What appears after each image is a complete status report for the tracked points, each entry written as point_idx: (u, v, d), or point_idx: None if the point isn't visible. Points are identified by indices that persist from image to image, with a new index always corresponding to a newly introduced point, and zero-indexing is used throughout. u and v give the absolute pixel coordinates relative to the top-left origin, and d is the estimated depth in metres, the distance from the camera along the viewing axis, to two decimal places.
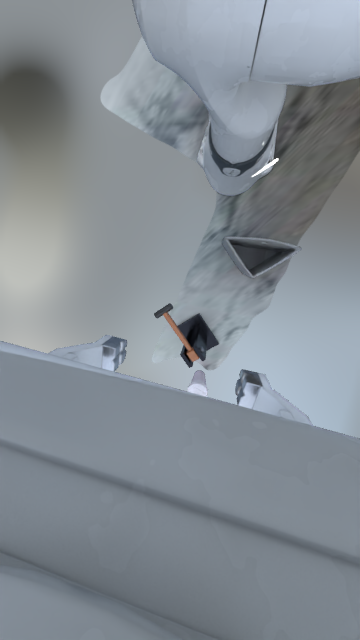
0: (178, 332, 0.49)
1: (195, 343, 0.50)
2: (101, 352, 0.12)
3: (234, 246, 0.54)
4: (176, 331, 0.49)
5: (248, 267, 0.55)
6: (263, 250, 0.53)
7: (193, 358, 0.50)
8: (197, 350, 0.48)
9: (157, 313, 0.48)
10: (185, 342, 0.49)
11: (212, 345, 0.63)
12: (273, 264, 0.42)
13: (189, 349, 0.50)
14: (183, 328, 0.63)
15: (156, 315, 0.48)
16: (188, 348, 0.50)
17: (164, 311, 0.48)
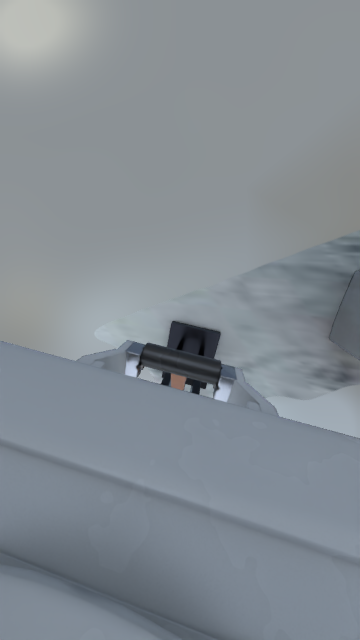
0: None
1: (195, 393, 0.23)
2: (125, 358, 0.12)
3: None
4: None
5: None
6: None
7: None
8: None
9: (155, 364, 0.12)
10: None
11: None
12: None
13: None
14: (180, 332, 0.35)
15: (147, 365, 0.12)
16: None
17: (183, 376, 0.12)
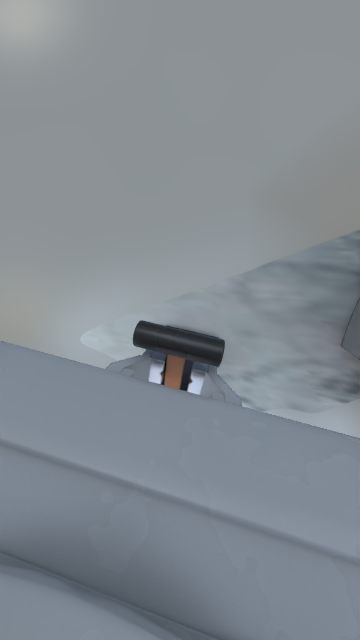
0: None
1: None
2: (150, 365, 0.11)
3: None
4: None
5: None
6: None
7: None
8: None
9: (150, 340, 0.10)
10: None
11: None
12: None
13: None
14: None
15: (140, 343, 0.11)
16: None
17: (182, 356, 0.11)
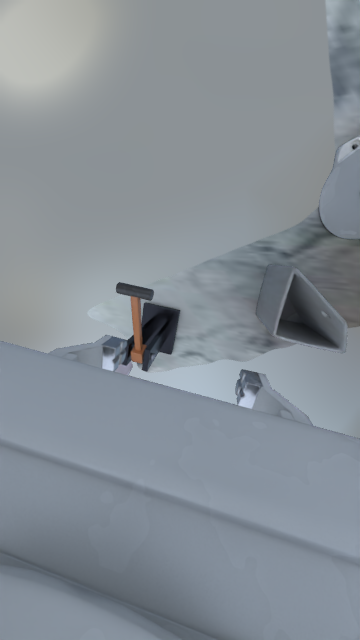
0: (137, 328, 0.31)
1: (151, 344, 0.36)
2: (101, 352, 0.12)
3: None
4: (135, 325, 0.30)
5: None
6: (294, 310, 0.42)
7: (135, 359, 0.36)
8: (147, 355, 0.34)
9: (122, 289, 0.26)
10: (138, 341, 0.33)
11: (164, 350, 0.49)
12: (304, 341, 0.31)
13: (137, 349, 0.34)
14: (150, 310, 0.47)
15: (119, 290, 0.26)
16: (137, 347, 0.34)
17: (135, 295, 0.26)
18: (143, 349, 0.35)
